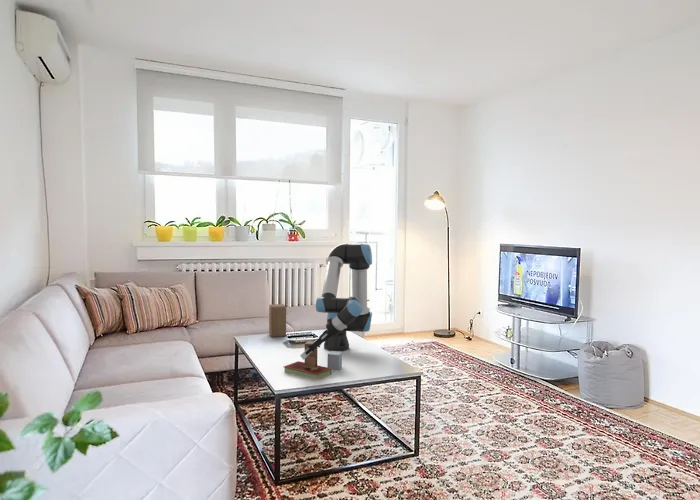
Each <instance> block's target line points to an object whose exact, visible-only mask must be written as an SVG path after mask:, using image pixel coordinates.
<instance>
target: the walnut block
mask: <svg viewBox="0 0 700 500" xmlns="http://www.w3.org/2000/svg"><path fill="white" fill-rule="evenodd" d="M314 342H315V341H309V340H308V341H306V342H305V343H304V351H306V350H307V349H308V348H309V347H308V346H311V345H312V344H313V343H314ZM304 363H305V368H315V367H316V366H317V365H318V348H317V347H316V348H315V349H314V351H313V352H312V353H311V354H309V355H308V356H307V357H306V358H305V359H304Z"/></svg>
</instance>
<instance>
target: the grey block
mask: <svg viewBox="0 0 700 500" xmlns="http://www.w3.org/2000/svg"><path fill="white" fill-rule="evenodd" d="M326 365H327V366H326V367H327V368H331V369H332V371H340V370H341V369H342V367H343V352H342V351H330V350H329V352H327V364H326Z"/></svg>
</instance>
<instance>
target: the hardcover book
mask: <svg viewBox="0 0 700 500" xmlns="http://www.w3.org/2000/svg"><path fill="white" fill-rule="evenodd" d="M283 369H284V373H285V374H289V375H293V374H294V376H297V375H298V377H301V378H302V377H303V378H307V379H311V380H314V381H318V380H321V379H323V378H325V377H327V376H330V375H332V374H333V370H332V369H331V368H327V366H323V365H318V364H317V366H316V367H315V368H305V361H295V362H293V363H292V362H291V363H289V364H286V365H284V366H283Z"/></svg>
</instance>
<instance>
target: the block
mask: <svg viewBox="0 0 700 500" xmlns="http://www.w3.org/2000/svg"><path fill="white" fill-rule="evenodd" d="M268 309H269V310H268V317H269V318H268V333H269V336H270V337H271V338H279V337H280V338H281V337H286V336H287V306H286V305H285V304H284V303H280V304H279V303H277V304H273V303H272V304H269V307H268Z"/></svg>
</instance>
